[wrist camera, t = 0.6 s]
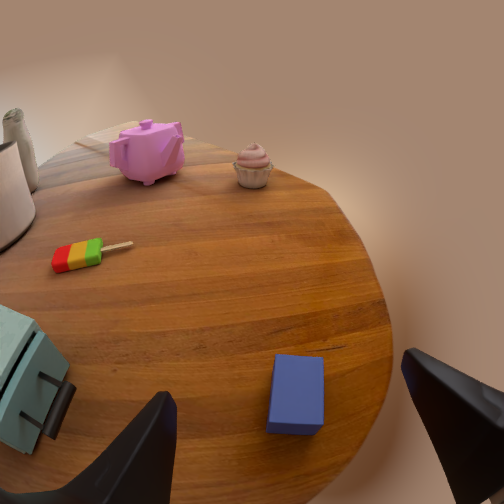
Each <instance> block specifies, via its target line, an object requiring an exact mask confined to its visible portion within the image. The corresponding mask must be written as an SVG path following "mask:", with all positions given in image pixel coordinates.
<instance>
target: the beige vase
mask: <svg viewBox="0 0 504 504" xmlns="http://www.w3.org/2000/svg"><path fill="white" fill-rule="evenodd" d="M3 129H4V141H3V144H4V143H6V142H9V141H13V140H15V141H16V142H17V146H18V151H19V155H20V160H21V164H22V167H23V171H24V175H25V178H26V181H27V185H28V188H29V191H30V193H31V192H33V191H34V190H35V189H36V188H37V186H38V183H39V172H38V167H37V163H36V159H35V153H34V148H33V143H32V139H31V137H30V134H29V132H28V130H27V127H26V125H25V121H24V114H23V112H22V110H21V109H19V108H16V109H13V110H10V111H9V112H7V113H6V114H5V116H4V117H3Z"/></svg>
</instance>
